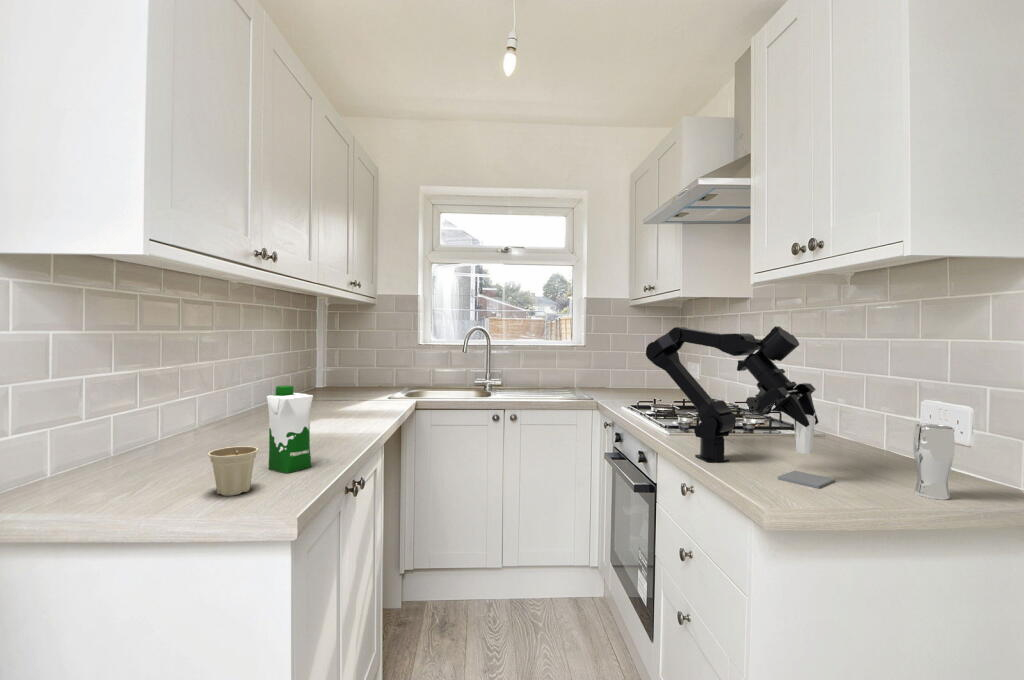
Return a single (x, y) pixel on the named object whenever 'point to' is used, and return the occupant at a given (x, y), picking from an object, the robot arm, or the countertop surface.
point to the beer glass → (933, 459)
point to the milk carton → (289, 430)
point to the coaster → (806, 479)
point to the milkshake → (804, 435)
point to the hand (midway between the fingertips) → (812, 424)
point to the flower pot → (233, 469)
